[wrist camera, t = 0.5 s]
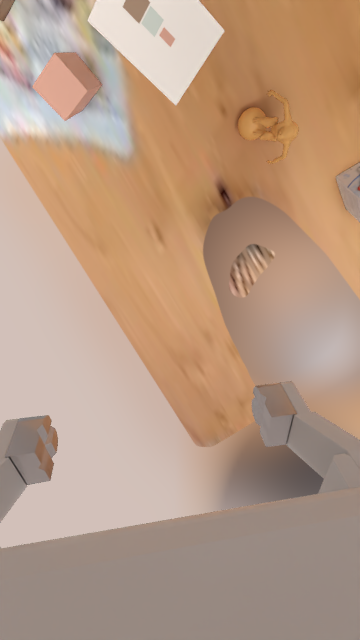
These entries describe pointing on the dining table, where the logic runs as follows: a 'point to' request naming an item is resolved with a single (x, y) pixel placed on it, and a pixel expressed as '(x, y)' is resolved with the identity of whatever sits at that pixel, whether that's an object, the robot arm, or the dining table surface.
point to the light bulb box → (350, 189)
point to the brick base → (5, 8)
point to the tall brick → (67, 84)
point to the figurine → (256, 122)
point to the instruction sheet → (159, 38)
